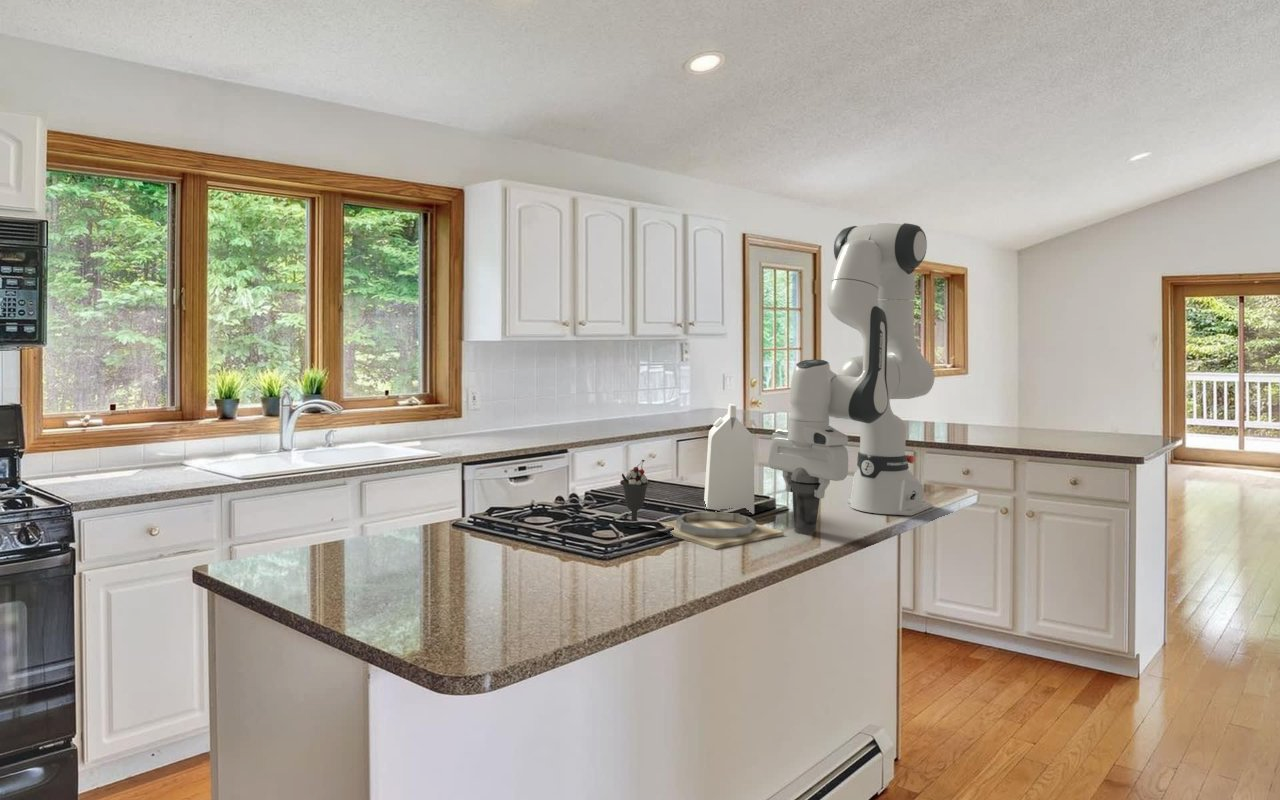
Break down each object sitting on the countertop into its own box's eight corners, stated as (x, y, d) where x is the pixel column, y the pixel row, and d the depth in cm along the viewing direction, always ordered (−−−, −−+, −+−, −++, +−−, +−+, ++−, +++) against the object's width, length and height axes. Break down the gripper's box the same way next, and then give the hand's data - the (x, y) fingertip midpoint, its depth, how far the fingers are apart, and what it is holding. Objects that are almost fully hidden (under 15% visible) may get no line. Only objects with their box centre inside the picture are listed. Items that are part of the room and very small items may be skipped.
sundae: (653, 524, 196) (655, 459, 195) (641, 531, 190) (642, 463, 189) (627, 521, 199) (629, 456, 198) (614, 527, 193) (615, 460, 192)
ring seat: (716, 516, 206) (716, 505, 206) (783, 535, 190) (784, 523, 190) (649, 528, 193) (649, 516, 193) (714, 549, 177) (715, 536, 176)
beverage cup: (824, 536, 190) (828, 446, 188) (790, 535, 190) (794, 445, 188) (817, 527, 197) (822, 441, 195) (785, 526, 197) (789, 440, 195)
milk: (754, 513, 210) (758, 407, 208) (706, 512, 210) (710, 406, 208) (748, 503, 222) (752, 402, 220) (704, 502, 222) (707, 401, 220)
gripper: (763, 428, 197) (760, 488, 198) (835, 439, 182) (831, 504, 183) (782, 427, 201) (779, 486, 202) (854, 437, 186) (850, 501, 187)
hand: (804, 494), depth 192 cm, fingers open, 7 cm apart
